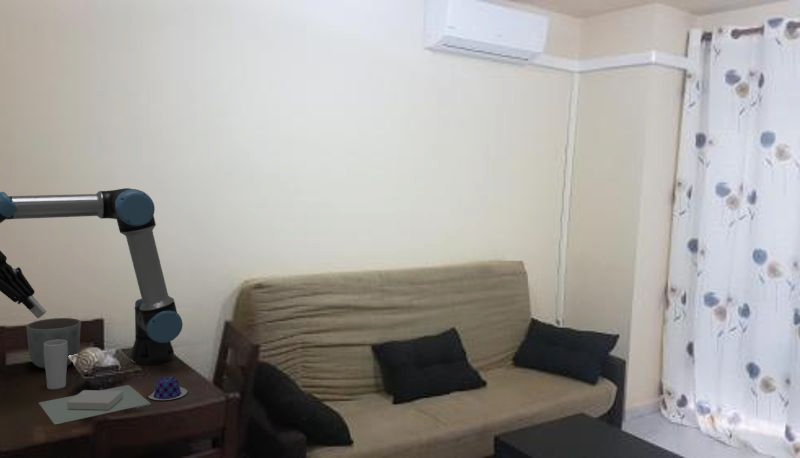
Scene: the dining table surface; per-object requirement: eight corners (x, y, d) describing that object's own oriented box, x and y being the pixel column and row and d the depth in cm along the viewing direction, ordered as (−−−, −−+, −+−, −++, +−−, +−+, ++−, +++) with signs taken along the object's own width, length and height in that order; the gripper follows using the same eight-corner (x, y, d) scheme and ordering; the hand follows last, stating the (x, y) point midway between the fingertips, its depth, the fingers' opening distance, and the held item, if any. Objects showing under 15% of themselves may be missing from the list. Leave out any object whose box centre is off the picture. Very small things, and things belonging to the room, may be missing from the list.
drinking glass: (39, 389, 200) (38, 343, 198) (59, 383, 206) (58, 338, 204) (53, 393, 197) (52, 346, 195) (73, 386, 203) (72, 341, 201)
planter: (69, 355, 235) (68, 315, 234) (90, 365, 224) (89, 323, 223) (19, 365, 222) (18, 323, 220) (39, 376, 211) (38, 332, 210)
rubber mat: (128, 386, 204) (128, 384, 204) (150, 405, 189) (150, 403, 189) (38, 404, 187) (38, 402, 187) (54, 426, 172) (54, 424, 172)
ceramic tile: (66, 402, 182) (108, 403, 183) (83, 390, 192) (122, 391, 193) (67, 409, 183) (108, 410, 183) (83, 397, 193) (123, 398, 193)
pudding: (171, 404, 191) (171, 387, 191) (138, 399, 195) (138, 383, 194) (195, 391, 203) (195, 375, 202) (163, 386, 206) (163, 371, 206)
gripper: (-8, 260, 194) (46, 316, 196) (-38, 268, 181) (20, 329, 183) (9, 244, 193) (62, 301, 195) (-20, 252, 180) (37, 313, 182)
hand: (42, 315), depth 189 cm, fingers closed
